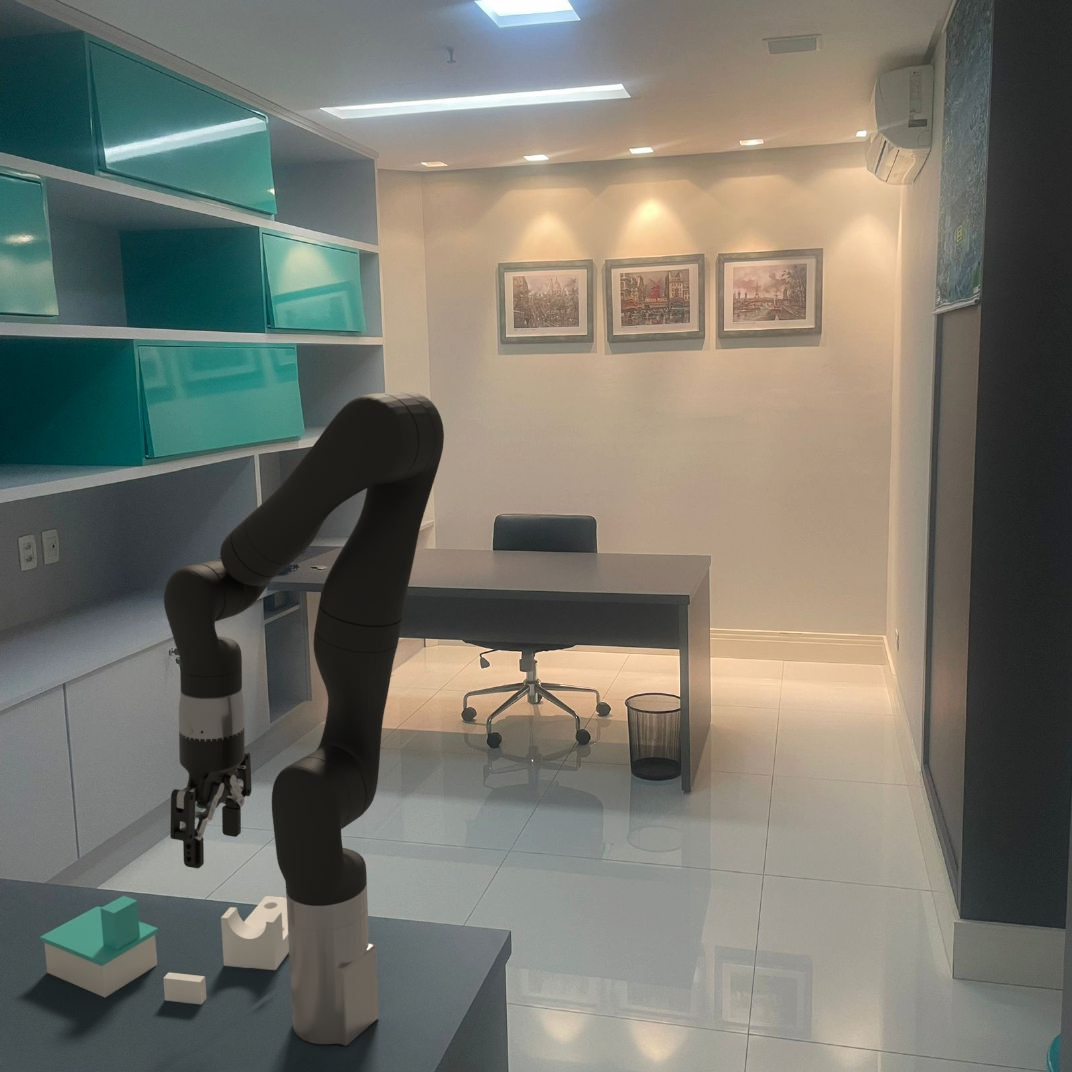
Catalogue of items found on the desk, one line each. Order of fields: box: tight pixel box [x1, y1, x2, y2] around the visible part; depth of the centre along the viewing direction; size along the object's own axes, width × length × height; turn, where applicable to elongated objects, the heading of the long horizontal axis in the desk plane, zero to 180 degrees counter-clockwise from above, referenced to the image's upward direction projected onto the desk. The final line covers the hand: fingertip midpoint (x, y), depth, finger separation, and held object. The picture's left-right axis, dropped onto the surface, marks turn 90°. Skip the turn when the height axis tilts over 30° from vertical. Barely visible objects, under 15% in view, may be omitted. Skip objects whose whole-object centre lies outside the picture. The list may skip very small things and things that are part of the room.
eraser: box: [163, 972, 207, 1005], centre depth 128 cm, size 1×5×4 cm, turn 79°
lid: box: [39, 895, 159, 966], centre depth 134 cm, size 12×9×6 cm
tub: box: [43, 934, 158, 998], centre depth 135 cm, size 11×8×5 cm
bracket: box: [220, 895, 289, 971], centre depth 141 cm, size 13×7×8 cm, turn 170°
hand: (213, 850), depth 129 cm, fingers open, 8 cm apart
